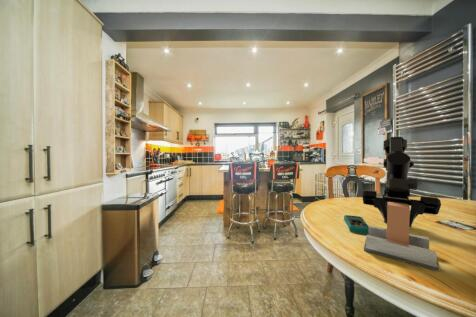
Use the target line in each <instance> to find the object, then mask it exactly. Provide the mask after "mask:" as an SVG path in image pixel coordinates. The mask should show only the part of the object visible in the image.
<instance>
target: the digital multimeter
mask: <svg viewBox="0 0 476 317" xmlns="http://www.w3.org/2000/svg"><path fill="white" fill-rule="evenodd" d="M343 221H344V222H345V223H346V225H347V227H348V230H349V232H351V233H355V234H363V235H367V234H368V229H369V225H368V224H367V222H366V220H364V218H363V217H362V216H358V215H351V214H350V215H348V214H345V215H343Z"/></svg>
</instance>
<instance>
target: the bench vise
mask: <svg viewBox="0 0 476 317" xmlns="http://www.w3.org/2000/svg"><path fill="white" fill-rule="evenodd" d="M368 226H369V229H368V234H366V236H365V242H364V246H363V251H365V252H368V253H371V254H375V255H378V256H381V257H386V258H389V259H392V260H397V261H399V260H400V261H399V262H403V261H404V263H406V264H409V265H410V264H411V265H413V266H416V267H421V268H425V269H428V270H431V271H434V272H440V267H439V264H438V263H437V262H438V261H437V258H438V254H437V251H436V250H434V249H430V238H429V237H427V236H423V235H418V234H413V233H409V245H408V244H404V243H400V242H395V241H391V240H387V228H383V227H379V226H375V225H368Z"/></svg>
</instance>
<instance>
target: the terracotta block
mask: <svg viewBox="0 0 476 317" xmlns="http://www.w3.org/2000/svg"><path fill="white" fill-rule="evenodd" d="M410 210H411V206H409V205H408V204H403V203H396V202H387V223H386V229H387V240H391V241H395V242H400V243H404V244H408V245H409V234H410V227H409V222H410Z"/></svg>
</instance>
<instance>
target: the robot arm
mask: <svg viewBox="0 0 476 317" xmlns="http://www.w3.org/2000/svg"><path fill="white" fill-rule="evenodd" d="M382 148H383V151H385V152H384V154H385V158H384V159H383V168H384V169H385V171H386V178H385V180H386V184H385V188H384V191H383V192H384V194H381V193H377V191H378V190H370V189H364V190H363V191H362V194H361V195H362V202H363V203H362V204H364V205H369V206H373V207H374V208H376V209H378V212H380V214H381V216H382V218H383V222H384V223H386V224H387V202H396V203H403V204H408V205H409V207H410V222H409V228H412V226H413V224H414V222H415V219H416V218H417V217H418V216H419V215H423V214H427V215H439V213H440V210H441V206H442V202H441V199H439V197H436V196H426V195H421V196H420V199H411V198H410V196H411V190H412V191H417V190H418V179H417V178H412V177H411V178H410V177H408V173H409V170H411V168H412V167H414V166H415V165H414V164H415V162H413V161H412V159H411V156H410V155H408V154H407V153H405V151H407V149H408V139H405V138H404V137H403V136H390V137H388V138H387V139H384V140H383V147H382Z"/></svg>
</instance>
